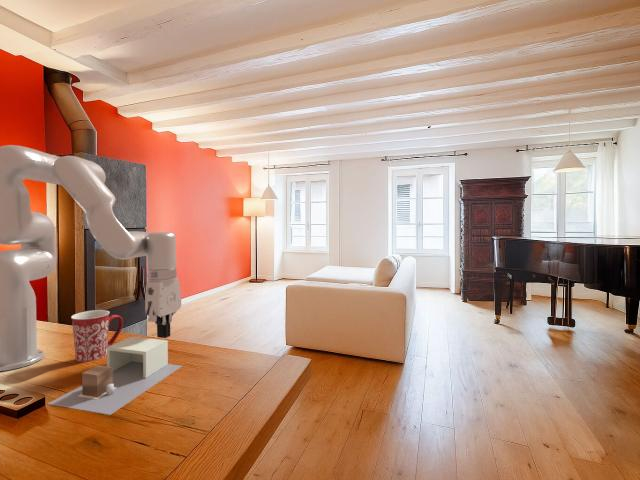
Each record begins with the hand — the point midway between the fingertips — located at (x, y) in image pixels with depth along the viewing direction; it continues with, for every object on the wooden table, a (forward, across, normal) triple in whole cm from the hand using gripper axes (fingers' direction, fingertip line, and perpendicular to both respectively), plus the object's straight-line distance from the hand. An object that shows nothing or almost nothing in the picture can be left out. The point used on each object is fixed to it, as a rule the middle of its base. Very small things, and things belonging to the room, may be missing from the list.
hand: (163, 336), depth 93 cm
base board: (+7, -16, -1) cm, 18 cm away
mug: (+7, -4, +19) cm, 20 cm away
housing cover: (+6, -9, +1) cm, 11 cm away
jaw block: (+5, -21, +1) cm, 22 cm away
